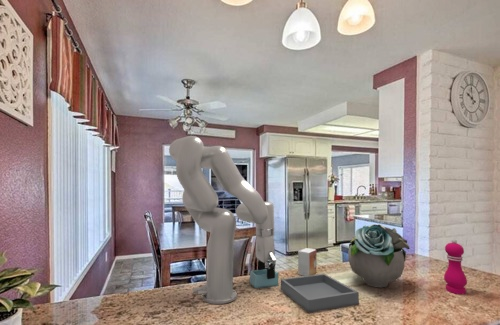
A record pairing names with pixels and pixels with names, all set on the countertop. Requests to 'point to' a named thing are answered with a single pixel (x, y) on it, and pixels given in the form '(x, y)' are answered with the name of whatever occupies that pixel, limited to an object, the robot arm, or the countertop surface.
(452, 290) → the pepper mill
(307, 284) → the gray square tray
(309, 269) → the small box
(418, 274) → the countertop surface
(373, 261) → the flower arrangement
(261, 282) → the small crate
